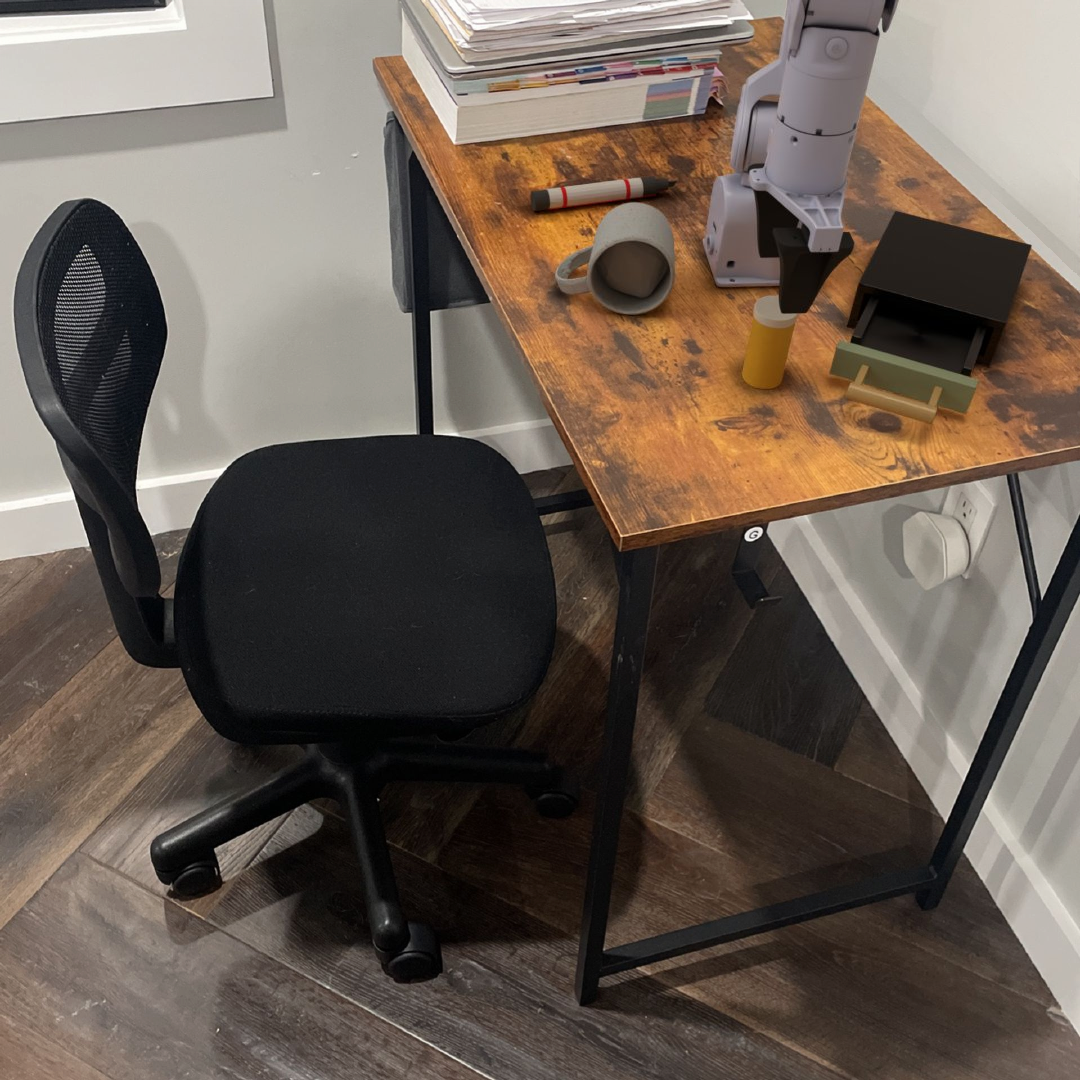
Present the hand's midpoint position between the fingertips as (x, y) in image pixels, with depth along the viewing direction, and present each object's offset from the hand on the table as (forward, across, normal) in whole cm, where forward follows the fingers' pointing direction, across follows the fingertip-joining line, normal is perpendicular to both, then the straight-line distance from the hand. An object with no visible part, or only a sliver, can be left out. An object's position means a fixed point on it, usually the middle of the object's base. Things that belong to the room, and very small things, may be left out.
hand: (782, 282), depth 90 cm
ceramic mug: (+10, -13, -11) cm, 20 cm away
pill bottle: (+9, 0, 0) cm, 9 cm away
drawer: (+8, 0, +12) cm, 15 cm away
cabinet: (+9, -10, +18) cm, 22 cm away
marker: (+10, -29, -10) cm, 32 cm away
